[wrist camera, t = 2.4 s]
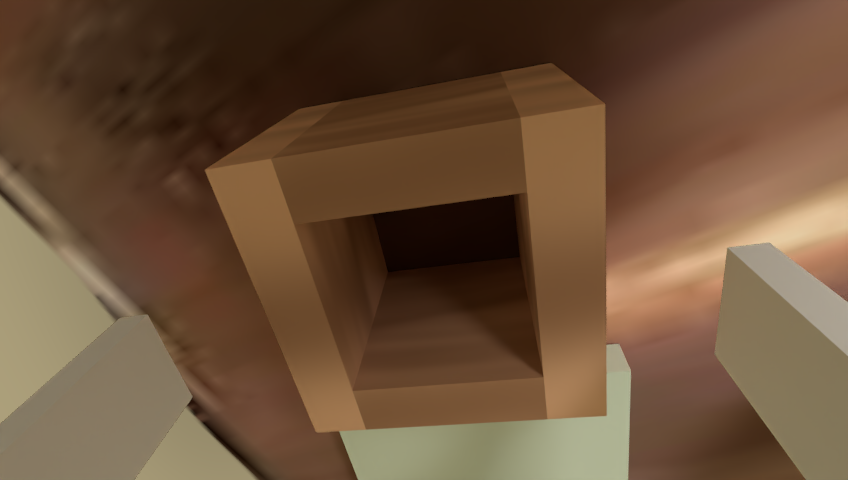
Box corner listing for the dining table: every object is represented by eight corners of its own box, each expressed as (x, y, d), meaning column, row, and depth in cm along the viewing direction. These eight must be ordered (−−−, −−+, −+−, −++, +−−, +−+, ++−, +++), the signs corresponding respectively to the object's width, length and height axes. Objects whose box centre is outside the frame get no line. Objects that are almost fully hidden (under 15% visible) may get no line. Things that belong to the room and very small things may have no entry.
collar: (299, 108, 15) (204, 169, 9) (551, 62, 13) (605, 103, 8) (360, 307, 18) (316, 432, 13) (563, 286, 17) (606, 415, 12)
